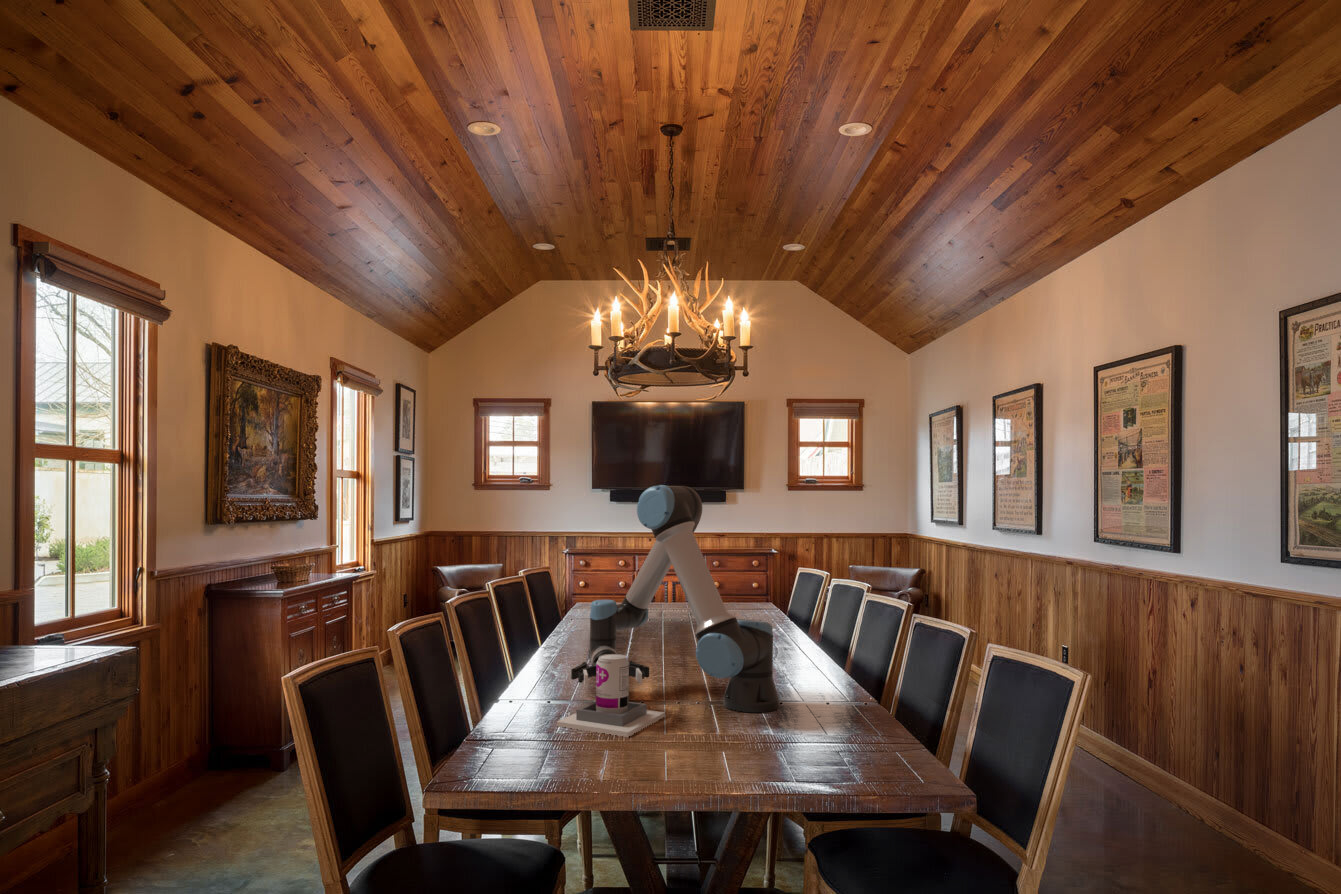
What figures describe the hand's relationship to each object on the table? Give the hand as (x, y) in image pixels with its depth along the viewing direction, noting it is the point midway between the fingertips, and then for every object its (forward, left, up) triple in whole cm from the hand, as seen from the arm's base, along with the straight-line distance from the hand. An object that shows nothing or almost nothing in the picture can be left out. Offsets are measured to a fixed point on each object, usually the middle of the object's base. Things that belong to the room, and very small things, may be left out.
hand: (613, 679), depth 207 cm
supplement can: (+2, -2, -10) cm, 10 cm away
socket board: (+2, -2, -11) cm, 11 cm away
